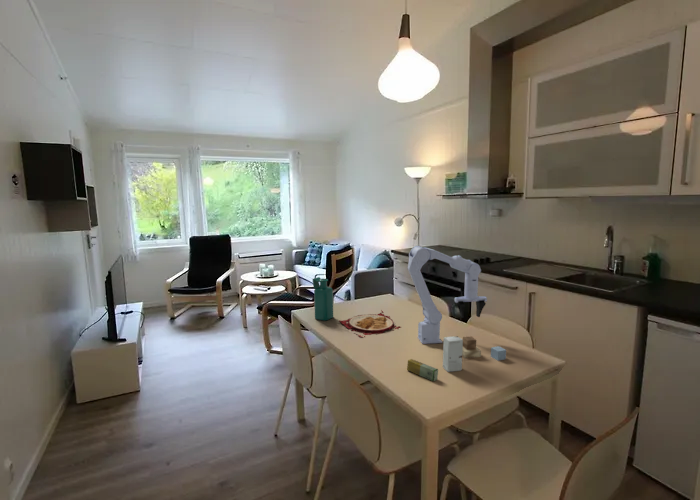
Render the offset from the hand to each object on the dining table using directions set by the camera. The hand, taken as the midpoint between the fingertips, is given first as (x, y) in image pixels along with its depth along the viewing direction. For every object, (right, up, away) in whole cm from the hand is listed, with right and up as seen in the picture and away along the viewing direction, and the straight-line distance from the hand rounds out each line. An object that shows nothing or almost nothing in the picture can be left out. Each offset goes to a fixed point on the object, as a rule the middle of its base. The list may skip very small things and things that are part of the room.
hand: (470, 316), depth 165 cm
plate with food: (-44, -9, +20) cm, 49 cm away
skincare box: (-16, -15, -28) cm, 35 cm away
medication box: (-29, -16, -32) cm, 46 cm away
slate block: (+5, -13, -19) cm, 24 cm away
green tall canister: (-70, -7, +33) cm, 78 cm away
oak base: (-6, -13, -15) cm, 20 cm away
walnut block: (-5, -10, -15) cm, 19 cm away
